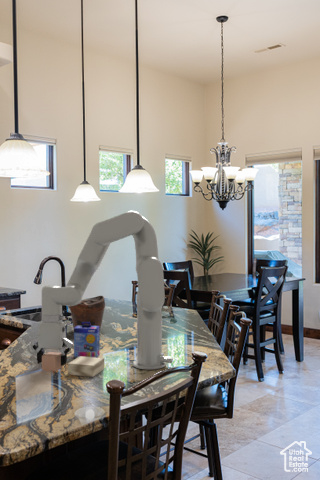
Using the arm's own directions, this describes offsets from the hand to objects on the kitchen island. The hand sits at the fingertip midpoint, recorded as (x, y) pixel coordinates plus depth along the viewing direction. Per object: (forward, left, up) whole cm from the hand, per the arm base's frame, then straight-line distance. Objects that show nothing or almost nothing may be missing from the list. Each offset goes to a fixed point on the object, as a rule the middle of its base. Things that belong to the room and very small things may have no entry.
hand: (51, 363), depth 181 cm
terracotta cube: (0, 0, -2) cm, 2 cm away
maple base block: (-14, 0, -2) cm, 14 cm away
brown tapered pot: (+15, -64, -2) cm, 66 cm away
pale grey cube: (+4, -10, -2) cm, 11 cm away
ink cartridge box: (-5, -20, -2) cm, 21 cm away
